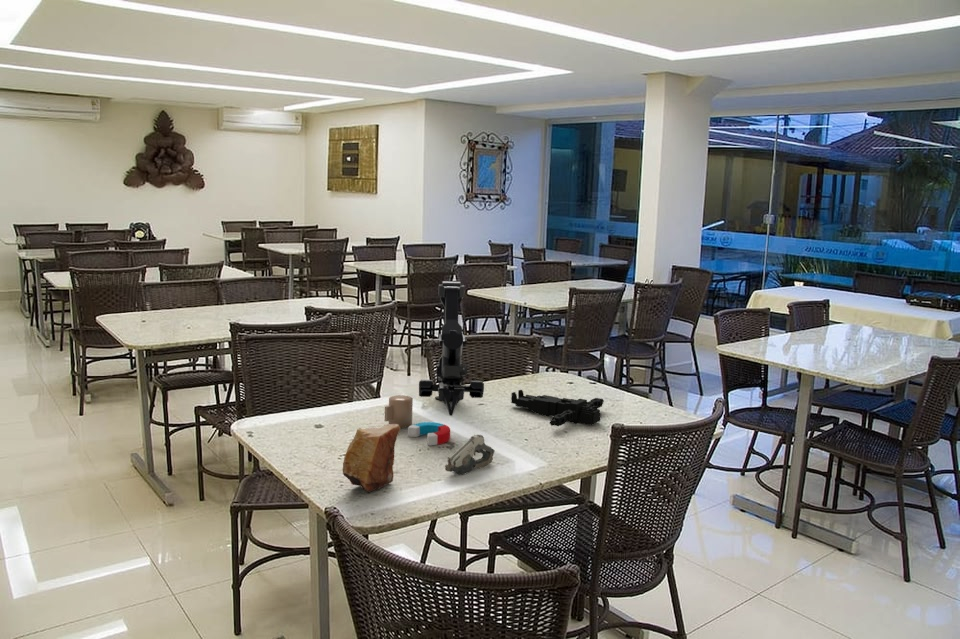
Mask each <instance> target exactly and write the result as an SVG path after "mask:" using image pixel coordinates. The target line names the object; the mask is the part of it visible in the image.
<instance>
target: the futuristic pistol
mask: <svg viewBox="0 0 960 639" xmlns="http://www.w3.org/2000/svg"><path fill="white" fill-rule="evenodd" d="M485 441H486V440H485V437H484V435H482V434H473V435H472V436H470V438H469V440H467V441H466V442H464V444H463V445H461V446H460V448H458V449H457V450H456V451H455V452H454V453H453V454H452V455H451V456H450V457H447V460H446V461H447V464H445V466H444V467H445V468H444V469H445V471H446V472H451V473H452V472H453V473H455V474H458V475H465V473H466V474H468V473H471V472H472V471H473V469H474V468H476V469H480V467H481V468H484V467H485V466H488V465H489V464H491V463H492V462H493V461H494V460H493V459H494V454H495V449H493V448H492V447H491V446H489V445H487V444H486V443H485ZM476 453H477V454H482V456H481V457H480V458H478V459H475V458H474V456H476Z"/></svg>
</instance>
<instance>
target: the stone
mask: <svg viewBox="0 0 960 639" xmlns="http://www.w3.org/2000/svg"><path fill="white" fill-rule="evenodd" d="M400 431H401V428H400V426H399V425H398V424H389V423H388V424H383V425H381V427H365V428H364V429H363V428H362V427H358V428H357V430H356V433H355V434H354V436H353V439H352V440H351V442H350V443H349V445H348V446H347V450H346V451H345V454H344V458H343V463H342V474H343V476H344V477H345V478H347V480H349V482H350V484H351V485H352V486H359V487H361V489H362V490H364V491H366V492H367V493H368V492H372V491H375V490H377V491H378V490H380V489H382V488H383V487H385V486H386V485H390V484H391V483H393V481H394V478H395V477H394V463H395V446H396V442H397V438H398V435H399V432H400Z"/></svg>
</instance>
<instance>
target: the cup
mask: <svg viewBox="0 0 960 639" xmlns="http://www.w3.org/2000/svg"><path fill="white" fill-rule="evenodd" d="M413 399H414V398H413V397H412V396H409V395H405V394H404V395H392V396H390V397H389V398H388V405H384V421H385V422H388V424H398V425H399V426H400V429H406V428H407V429H408V427H409V426H411V425H413Z"/></svg>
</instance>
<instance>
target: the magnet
mask: <svg viewBox="0 0 960 639" xmlns="http://www.w3.org/2000/svg"><path fill="white" fill-rule="evenodd" d="M424 435H427V438H426V439H427V440H426V442H427V446H436V445H442V444H445V443H447V442H449V441H450V439H451V428H450V426H448V425H447V424H444V423H441V422H431V421H429V422H428V421H427V422H426V421H425V422H418V423H417V422H416V423H414V424H412V425H411V426H409V427H408V428H407V437H413V438H418V437H419V436H424Z"/></svg>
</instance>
